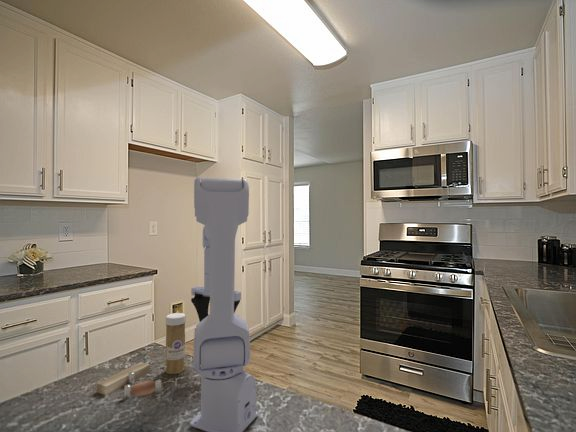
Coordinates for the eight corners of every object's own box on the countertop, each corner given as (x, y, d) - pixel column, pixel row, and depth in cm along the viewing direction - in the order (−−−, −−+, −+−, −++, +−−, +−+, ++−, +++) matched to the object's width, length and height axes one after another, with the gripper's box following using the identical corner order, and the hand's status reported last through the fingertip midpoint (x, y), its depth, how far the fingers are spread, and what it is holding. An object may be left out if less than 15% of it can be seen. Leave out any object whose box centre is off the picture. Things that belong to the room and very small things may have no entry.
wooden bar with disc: (173, 379, 72) (174, 370, 72) (131, 405, 62) (131, 395, 62) (140, 370, 76) (140, 362, 76) (96, 392, 66) (96, 383, 66)
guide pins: (162, 392, 66) (162, 380, 66) (141, 405, 62) (141, 392, 62) (131, 382, 70) (131, 371, 70) (109, 394, 66) (109, 382, 66)
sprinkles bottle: (170, 377, 73) (170, 319, 73) (162, 370, 76) (162, 314, 76) (188, 370, 76) (189, 314, 76) (180, 364, 79) (180, 311, 79)
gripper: (247, 272, 82) (247, 324, 82) (203, 268, 88) (203, 317, 88) (231, 276, 75) (231, 333, 75) (185, 272, 82) (185, 325, 81)
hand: (215, 325), depth 81 cm, fingers open, 7 cm apart
